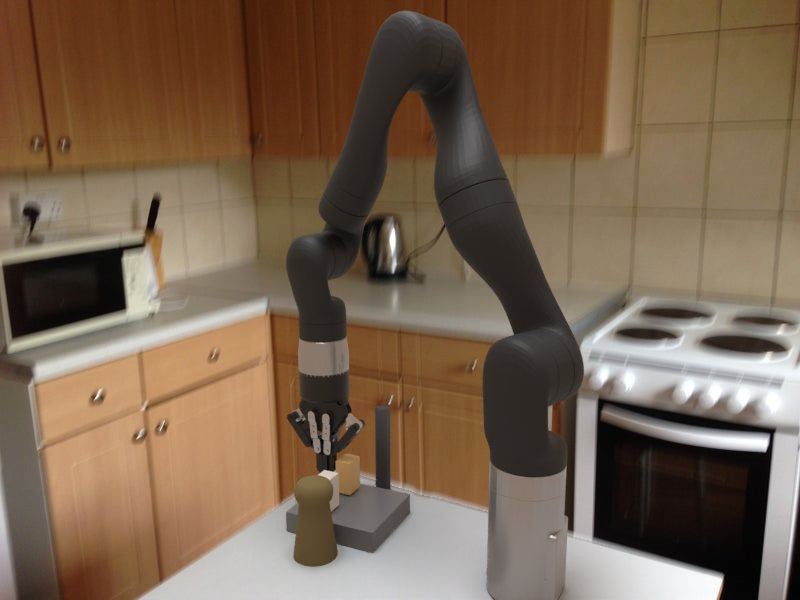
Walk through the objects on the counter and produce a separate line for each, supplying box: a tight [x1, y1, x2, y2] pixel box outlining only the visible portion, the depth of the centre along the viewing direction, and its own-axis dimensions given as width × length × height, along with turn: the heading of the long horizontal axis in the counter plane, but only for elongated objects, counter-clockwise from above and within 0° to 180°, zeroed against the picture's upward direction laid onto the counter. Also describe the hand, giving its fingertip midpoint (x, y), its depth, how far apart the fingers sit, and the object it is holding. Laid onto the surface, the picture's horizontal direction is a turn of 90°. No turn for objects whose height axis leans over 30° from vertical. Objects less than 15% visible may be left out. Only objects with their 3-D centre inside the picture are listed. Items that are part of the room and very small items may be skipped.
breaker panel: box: [285, 483, 411, 554], centre depth 108 cm, size 14×12×3 cm
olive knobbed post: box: [292, 474, 338, 567], centre depth 99 cm, size 6×6×11 cm
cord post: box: [374, 405, 392, 490], centre depth 117 cm, size 2×2×14 cm
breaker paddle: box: [335, 453, 361, 495], centre depth 111 cm, size 2×3×5 cm
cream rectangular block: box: [317, 470, 339, 512], centre depth 105 cm, size 2×3×5 cm
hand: (326, 474), depth 113 cm, fingers closed
